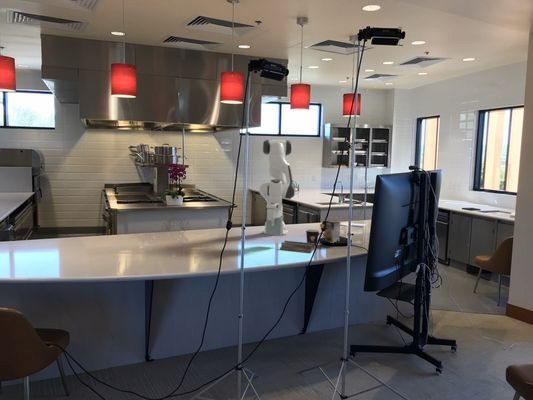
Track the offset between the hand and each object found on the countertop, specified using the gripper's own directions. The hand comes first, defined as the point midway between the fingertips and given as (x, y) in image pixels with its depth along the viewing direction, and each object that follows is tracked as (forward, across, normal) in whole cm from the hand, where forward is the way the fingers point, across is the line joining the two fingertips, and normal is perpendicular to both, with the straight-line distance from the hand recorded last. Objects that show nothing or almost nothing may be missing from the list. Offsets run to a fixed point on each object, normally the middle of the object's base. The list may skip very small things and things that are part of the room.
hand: (274, 225), depth 301 cm
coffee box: (+14, -22, +34) cm, 43 cm away
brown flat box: (+14, +2, +17) cm, 22 cm away
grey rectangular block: (+7, 0, 0) cm, 7 cm away
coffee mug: (+14, -14, +24) cm, 31 cm away
